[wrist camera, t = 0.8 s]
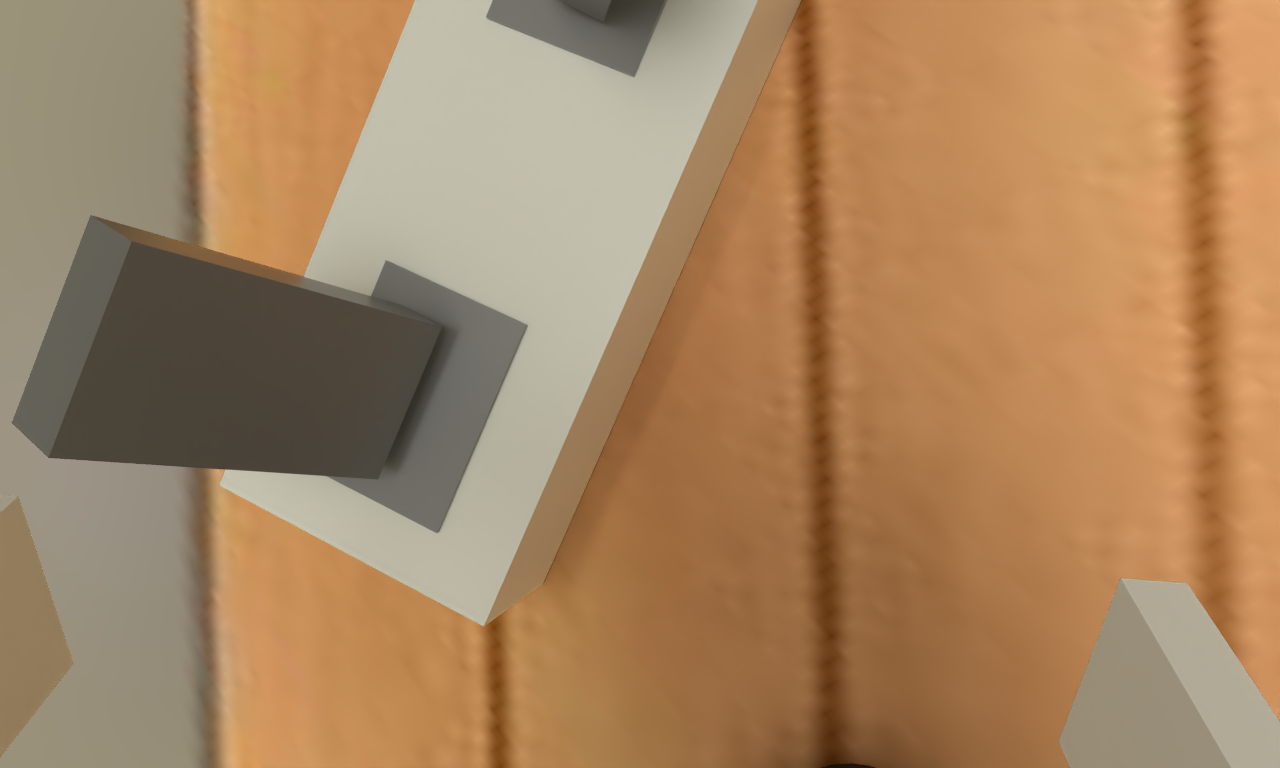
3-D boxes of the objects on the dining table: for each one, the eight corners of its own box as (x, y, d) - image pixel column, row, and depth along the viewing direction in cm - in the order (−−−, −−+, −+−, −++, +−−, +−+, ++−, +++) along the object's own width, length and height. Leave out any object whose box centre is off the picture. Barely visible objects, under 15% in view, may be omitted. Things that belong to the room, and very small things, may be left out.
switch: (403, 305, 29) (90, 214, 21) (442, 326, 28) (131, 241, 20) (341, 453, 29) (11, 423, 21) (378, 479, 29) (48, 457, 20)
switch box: (595, -205, 34) (540, -337, 28) (853, -117, 33) (857, -237, 26) (317, 468, 37) (209, 487, 31) (542, 584, 35) (477, 630, 29)
